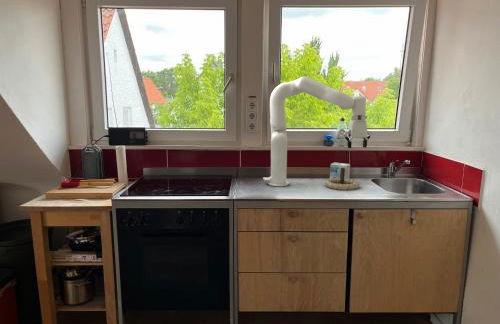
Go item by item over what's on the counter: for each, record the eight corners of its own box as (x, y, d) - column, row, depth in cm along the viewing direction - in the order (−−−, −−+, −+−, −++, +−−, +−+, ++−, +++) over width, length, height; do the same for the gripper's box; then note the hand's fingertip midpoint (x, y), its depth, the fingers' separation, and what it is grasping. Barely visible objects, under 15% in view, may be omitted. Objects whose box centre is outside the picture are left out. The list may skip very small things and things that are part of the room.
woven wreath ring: (328, 190, 194) (329, 185, 193) (322, 182, 213) (322, 177, 213) (363, 190, 194) (363, 185, 193) (353, 182, 213) (353, 177, 213)
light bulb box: (329, 180, 219) (330, 163, 217) (333, 178, 224) (334, 162, 223) (345, 182, 213) (346, 165, 211) (349, 180, 218) (350, 163, 217)
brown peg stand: (337, 187, 200) (338, 168, 198) (334, 185, 207) (335, 166, 205) (349, 187, 200) (350, 168, 198) (346, 185, 207) (347, 166, 205)
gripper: (368, 117, 204) (367, 146, 207) (341, 118, 200) (340, 147, 203) (375, 118, 197) (374, 147, 200) (347, 118, 193) (346, 149, 196)
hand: (357, 147), depth 201 cm, fingers open, 9 cm apart
